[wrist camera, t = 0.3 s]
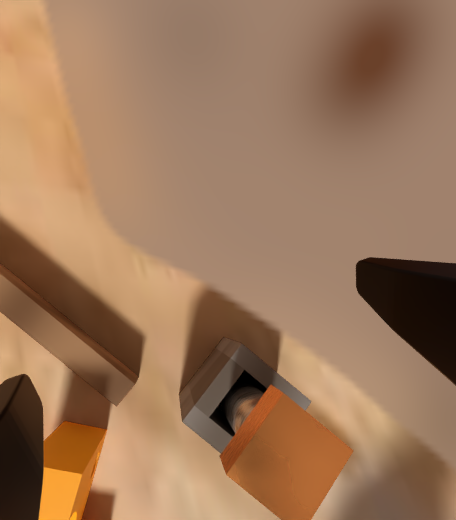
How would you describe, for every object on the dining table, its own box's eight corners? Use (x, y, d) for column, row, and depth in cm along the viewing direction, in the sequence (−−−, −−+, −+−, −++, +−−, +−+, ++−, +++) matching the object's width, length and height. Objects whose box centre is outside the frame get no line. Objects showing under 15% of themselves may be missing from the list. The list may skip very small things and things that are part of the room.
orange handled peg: (279, 396, 19) (353, 450, 12) (246, 444, 19) (300, 535, 11) (237, 362, 19) (283, 392, 11) (202, 408, 19) (226, 474, 11)
